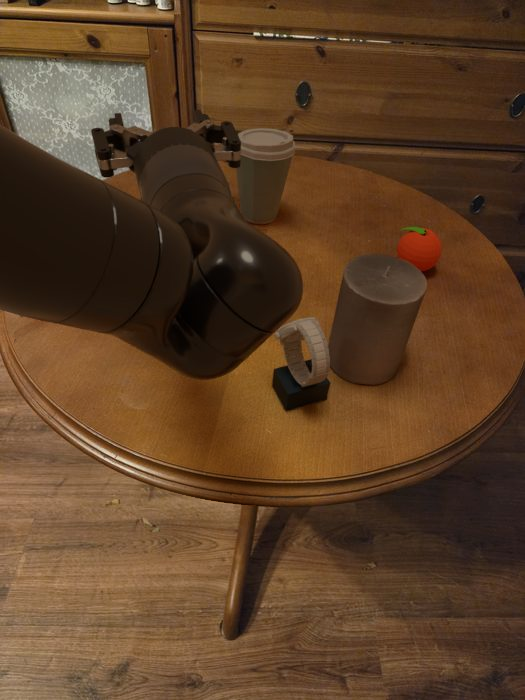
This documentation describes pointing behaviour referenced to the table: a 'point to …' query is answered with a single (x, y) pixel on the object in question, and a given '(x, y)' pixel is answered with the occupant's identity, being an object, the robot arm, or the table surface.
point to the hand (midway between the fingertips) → (158, 120)
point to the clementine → (420, 248)
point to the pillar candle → (374, 317)
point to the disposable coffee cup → (263, 172)
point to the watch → (302, 365)
